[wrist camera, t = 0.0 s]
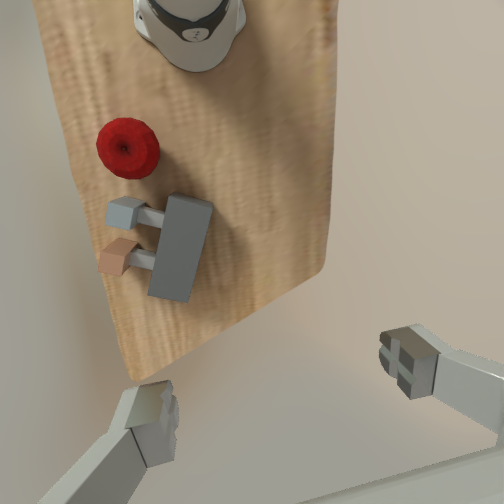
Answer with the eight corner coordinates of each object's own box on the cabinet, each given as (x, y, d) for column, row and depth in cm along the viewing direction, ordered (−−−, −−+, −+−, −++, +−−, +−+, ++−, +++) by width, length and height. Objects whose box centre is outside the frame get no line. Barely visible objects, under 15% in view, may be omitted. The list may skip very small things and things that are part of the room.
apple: (149, 115, 47) (133, 101, 37) (175, 164, 51) (167, 164, 41) (101, 137, 47) (72, 129, 37) (130, 185, 51) (111, 190, 41)
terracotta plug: (117, 237, 53) (100, 251, 45) (166, 249, 56) (158, 264, 47) (114, 255, 54) (97, 271, 46) (162, 265, 57) (154, 283, 48)
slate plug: (124, 196, 51) (108, 202, 43) (175, 209, 53) (169, 218, 45) (121, 215, 52) (104, 224, 44) (171, 227, 54) (164, 239, 46)
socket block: (174, 191, 52) (168, 196, 45) (212, 202, 54) (212, 208, 47) (155, 278, 58) (147, 295, 50) (190, 285, 60) (187, 302, 52)
